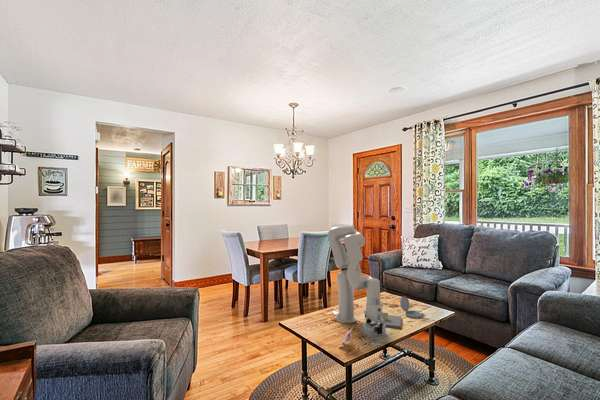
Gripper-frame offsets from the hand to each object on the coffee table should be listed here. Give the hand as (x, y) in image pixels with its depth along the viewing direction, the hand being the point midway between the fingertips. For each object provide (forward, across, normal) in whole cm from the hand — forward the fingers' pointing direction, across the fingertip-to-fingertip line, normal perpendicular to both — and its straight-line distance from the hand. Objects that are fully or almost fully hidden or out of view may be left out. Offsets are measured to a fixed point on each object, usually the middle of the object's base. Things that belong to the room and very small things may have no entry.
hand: (374, 330), depth 166 cm
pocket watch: (+2, +10, -40) cm, 41 cm away
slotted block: (+2, 0, 0) cm, 2 cm away
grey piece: (+2, +11, -16) cm, 20 cm away
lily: (+2, -5, +22) cm, 23 cm away
